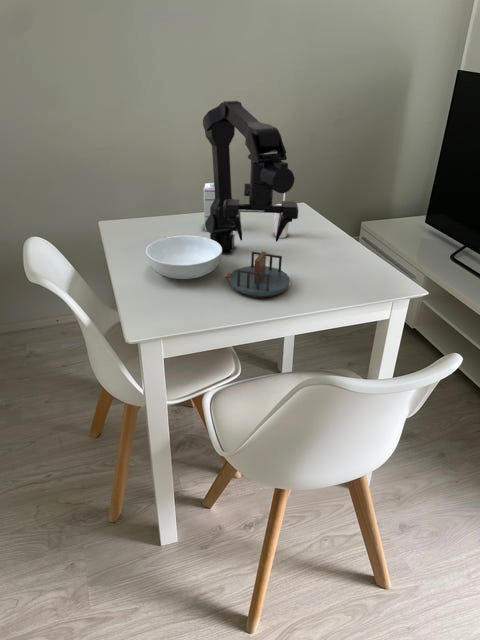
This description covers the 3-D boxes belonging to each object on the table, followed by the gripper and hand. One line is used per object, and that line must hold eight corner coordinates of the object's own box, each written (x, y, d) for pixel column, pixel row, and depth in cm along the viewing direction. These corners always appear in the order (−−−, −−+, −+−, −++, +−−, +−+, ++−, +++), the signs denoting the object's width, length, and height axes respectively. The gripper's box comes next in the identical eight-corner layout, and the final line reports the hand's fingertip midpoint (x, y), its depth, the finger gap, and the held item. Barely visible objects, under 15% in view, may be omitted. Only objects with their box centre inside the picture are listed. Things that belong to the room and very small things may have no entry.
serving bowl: (229, 260, 153) (229, 238, 149) (211, 292, 135) (211, 268, 132) (161, 252, 156) (160, 231, 153) (135, 283, 139) (133, 260, 135)
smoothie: (294, 234, 171) (297, 192, 164) (284, 240, 166) (287, 198, 159) (277, 230, 174) (279, 189, 167) (267, 236, 169) (269, 194, 162)
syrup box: (221, 231, 172) (222, 188, 164) (203, 231, 172) (203, 187, 164) (222, 225, 177) (222, 183, 169) (205, 224, 177) (204, 182, 169)
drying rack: (295, 274, 143) (297, 249, 139) (280, 300, 130) (282, 273, 126) (236, 264, 147) (237, 239, 144) (216, 288, 134) (216, 262, 130)
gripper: (297, 173, 134) (292, 230, 143) (225, 170, 134) (224, 227, 143) (300, 186, 125) (295, 246, 133) (223, 183, 125) (222, 244, 133)
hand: (258, 240), depth 136 cm, fingers open, 9 cm apart
